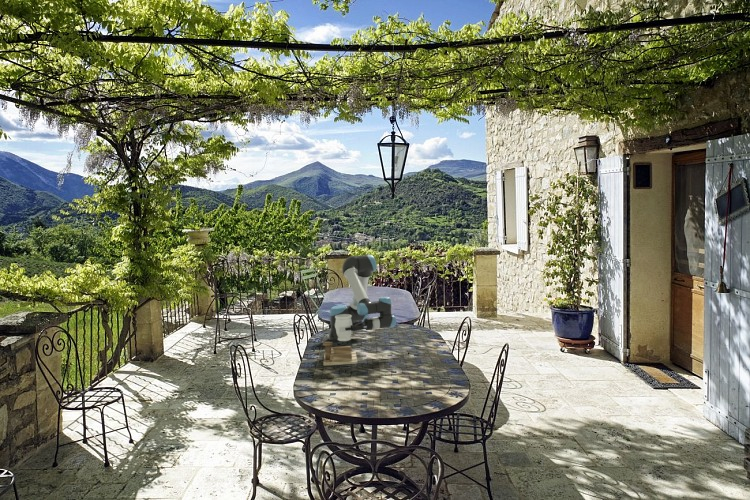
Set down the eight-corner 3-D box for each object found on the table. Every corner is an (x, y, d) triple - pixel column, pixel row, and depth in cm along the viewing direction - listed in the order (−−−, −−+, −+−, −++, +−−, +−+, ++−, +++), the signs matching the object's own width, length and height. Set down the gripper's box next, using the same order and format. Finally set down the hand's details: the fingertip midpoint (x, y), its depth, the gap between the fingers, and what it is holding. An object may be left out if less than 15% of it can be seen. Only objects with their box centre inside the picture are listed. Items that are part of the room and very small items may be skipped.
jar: (350, 342, 319) (349, 317, 317) (333, 341, 321) (332, 317, 319) (354, 337, 329) (353, 313, 328) (338, 337, 331) (337, 313, 330)
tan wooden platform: (324, 355, 335) (323, 336, 334) (355, 353, 336) (355, 334, 335) (323, 365, 313) (322, 345, 312) (357, 363, 314) (356, 343, 313)
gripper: (377, 333, 320) (342, 337, 312) (365, 325, 341) (332, 329, 334) (377, 321, 319) (342, 325, 312) (365, 314, 341) (332, 318, 333)
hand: (337, 327), depth 323 cm, fingers closed on jar, 10 cm apart
